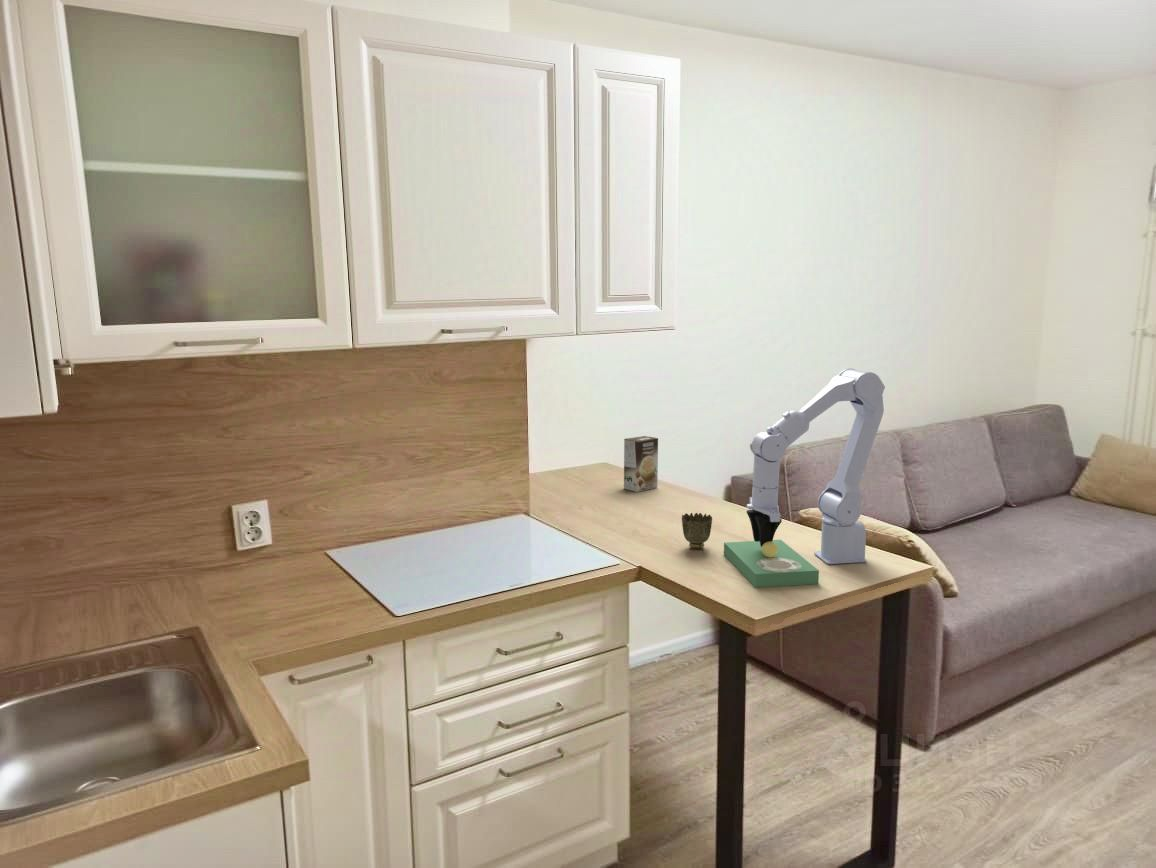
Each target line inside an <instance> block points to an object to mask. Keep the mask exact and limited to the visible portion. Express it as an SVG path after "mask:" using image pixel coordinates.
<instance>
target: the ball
mask: <svg viewBox="0 0 1156 868" xmlns="http://www.w3.org/2000/svg"><path fill="white" fill-rule="evenodd" d="M762 553H763V554H764V555H765V556H766V557H774V556H775V555H776V554H777V553H778V547H777V545H776V544H775V543H774V542H771V541H768V542H765V543H764V544H763V546H762Z"/></svg>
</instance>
